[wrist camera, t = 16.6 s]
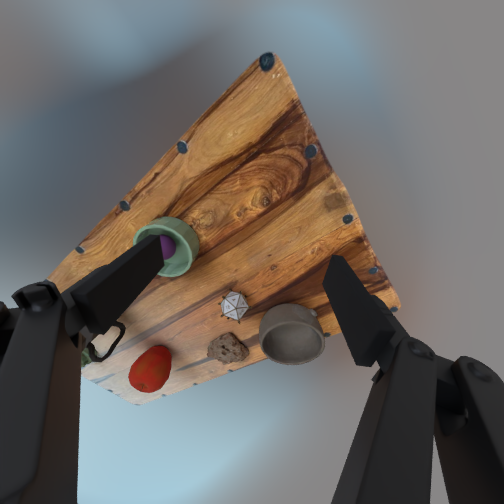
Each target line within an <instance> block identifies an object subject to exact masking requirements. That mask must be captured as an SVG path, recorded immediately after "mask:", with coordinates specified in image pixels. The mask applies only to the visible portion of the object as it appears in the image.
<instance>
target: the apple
mask: <svg viewBox="0 0 504 504" xmlns="http://www.w3.org/2000/svg"><path fill="white" fill-rule="evenodd" d="M171 361H172V356H171V353H170V352H169V350H168V349H167V348H166V347H164V346H154V347H151V348H149V349H148V350H147V351H146V352H144V353H143V354H142V355H141V356H140V357H139V358H138V359H137V360H136V361H135V362H134V363H133V365H132V366H131V369H130V372H129V376H128V378H129V381H130V384H131V386H133V387H134V388H135V389H137V390H139V391H141V392H146V393H152V392H155V391H157V390H159V389H161V388H162V386H163V385H164V384H165V382H166V381H167V380H168V378H169V374H170V370H171Z"/></svg>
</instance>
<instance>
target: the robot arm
mask: <svg viewBox="0 0 504 504" xmlns="http://www.w3.org/2000/svg"><path fill="white" fill-rule="evenodd" d="M164 266H165V265H164V258H163V252H162V246H161V240H160V235H153V234H149V235H148V236H147V237H145V238H144V239H142V240H141V241H140V242H138V243H137V244H136V245H134V246H133V247H131V248H130V249H129V250H127V251H126V252H125V253H123V254H122V255H121V256H119V257H118V258H116V259H115V260H114V261H112V262H111V263H110V264H108V265H104V266H101V267H99V268H97V269H95V270H94V271H92V272H91V273H89V274H88V275H87V276H85V277H84V278H82V280H79V281H78V282H77V283H75V284H74V285H72V286H71V287H69V288H68V289H67V290H65V291H64V292H62V293H61V294H60V292H59V291H58V289H57V287H56V285H55V283H53V282H48V281H44V282H37V283H34V284H30V285H27V286H25V287H23V288H21V289H19V290H18V291H16V292H15V293H14V294H13V295H12V298H13V299H14V301H15V302H16V304H17V305H18V306H19V308H11V309H8V308H7V307H6V305H5V304H4V303H3V302H1V301H0V504H77V481H78V479H77V478H78V448H79V415H80V385H81V383H80V382H81V352H82V334H81V332H80V330H81V329H82V328H84V327H85V326H87V328H88V330H89V332H90V333H94V334H102V335H104V334H105V333H106V332H107V331H108V330H109V329H110V327H111V326H112V325H113V324H114V323H115V322H116V321H117V319H118V318H119V317H120V316H121V315H122V314H123V313H124V311H125V310H126V309H127V308H128V307H129V306H130V305H131V303H132V302H133V301H134V300H135V299H136V298H137V297H138V295H139V294H140V293H141V292H142V291H143V290H144V289H145V287H146V286H147V285H148V284H149V283H150V282H151V281H152V279H153V278H154V277H155V276H156V275H157V274H158V273H159V271H160V270H161V269H162V268H163V267H164ZM322 284H323V287H324V289H325V292H326V294H327V297H328V299H329V301H330V304H331V306H332V309H333V311H334V313H335V316H336V318H337V321H338V323H339V325H340V328H341V330H342V333H343V335H344V337H345V340H346V342H347V345H348V347H349V349H350V351H351V354H352V357H353V359H354V361H355V364H356V365H359V366H366V367H371V366H372V365H373V364H374V362H375V361H376V360H377V362H378V364H379V366H380V369H379V370H378V371H377V373H376V374H375V375H374V377H373V378H372V381H373V382H374V383H373V386H372V388H371V391H370V394H369V397H368V400H367V403H366V405H365V408H364V411H363V414H362V417H361V420H360V422H359V425H358V428H357V431H356V434H355V437H354V440H353V442H352V445H351V448H350V451H349V454H348V457H347V459H346V462H345V465H344V468H343V471H342V474H341V476H340V480H339V482H338V485H337V488H336V491H335V494H334V496H333V499H332V502H331V504H430V491H431V490H430V489H431V473H432V455H433V438H434V437H435V441H436V446H437V450H438V455H439V459H440V464H441V468H442V473H443V477H444V482H445V486H446V491H447V495H448V500H449V504H504V383H503V381H502V380H501V379H500V377H499V376H498V375H497V374H496V373H495V372H494V371H493V370H492V369H490V368H489V367H488V366H486V365H485V364H483V363H482V362H480V361H478V360H475V359H473V358H470V357H467V356H460V358H459V359H457V360H456V361H455V362H454V361H451V360H448V359H445V358H443V357H440V356H437V355H436V354H435V353H434V351H433V350H432V349H431V348H430V347H429V346H427V345H426V344H424V343H423V342H422V341H420V340H418V339H415V338H413V337H410V336H409V334H408V333H407V332H406V330H405V329H404V328H403V327H402V325H401V324H400V323H399V322H398V320H397V319H396V317H395V316H393V314H392V312H391V311H390V310H389V308H388V307H387V306H386V304H385V303H384V302H383V301H382V300H381V299H379V298H378V297H377V296H376V295H370V294H369V292H368V291H367V290H366V288H365V287H364V285H363V284H362V283H361V281H360V280H359V278H358V277H357V276H356V274H355V273H354V271H353V270H352V269H351V267H350V266H349V264H348V263H347V262H346V260H345V259H344V257H343V256H338V255H332V257H331V260H330V263H329V266H328V269H327V271H326V274H325V277H324V280H323V283H322ZM433 436H434V437H433Z"/></svg>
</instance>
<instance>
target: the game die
mask: <svg viewBox="0 0 504 504" xmlns="http://www.w3.org/2000/svg"><path fill="white" fill-rule="evenodd" d="M241 293H242V291H240V293H238V292H232V291H231V289H230V292H229V293H228V294H227V295H226V296H225V297H224V296H222V298H224V299H223V301H222V302H221V303H218V304H219V305H220V304H221V308H222V313H223V315H221V317H223V316H226V317H228V318H227V319H229V318H232V319H235V320H237V321H238V323H239V324H240V321H239V320H240V319H241V317H242V316H243V315H244V314H246V311H247V310H248V308H252V307H251V306H249V305H248V303H247V300H246V298H245V297H247V295H245V296H244V295H242V294H241Z"/></svg>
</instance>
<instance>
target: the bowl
mask: <svg viewBox="0 0 504 504" xmlns="http://www.w3.org/2000/svg"><path fill="white" fill-rule="evenodd" d="M316 316H317V313H316V311H315V310H313V309H310V310H309V309H308V308H306V307H304V306H302V305H299V304H288V303H286V304H281V305H277V306H275V307H273V308H271V309H270V310H268V311H267V313H266V314H265V315H264V317H263V318H262V320H261V323H260V328H259V341H260V346H261V349H262V351H263V352H264V354H265V355H266V356H267V357H268V358H269V359H270V360H272V361H274V362H277V363H280V364H286V365H299V364H304V363H307V362H309V361H312V360H314V359H315V358H317V357H318V356H319V355H320V354H321V353H322V352H323V350H324V347H325V338H324V333H323V330H322V328H321V325H320V323H319V322H318V320H317V318H316Z"/></svg>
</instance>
